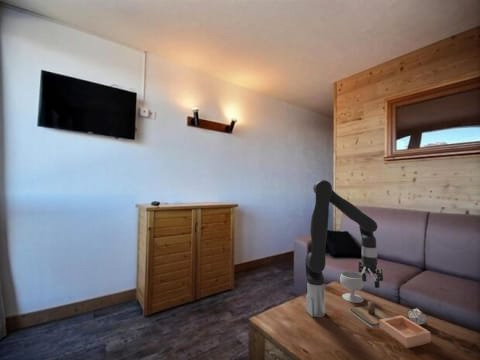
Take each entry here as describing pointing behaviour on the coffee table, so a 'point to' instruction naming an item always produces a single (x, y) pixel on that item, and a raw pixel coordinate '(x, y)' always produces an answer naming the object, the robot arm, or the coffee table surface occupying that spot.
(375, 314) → the lid
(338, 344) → the coffee table surface
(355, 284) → the chalice
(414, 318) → the game die
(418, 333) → the pink square tray
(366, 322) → the mat
